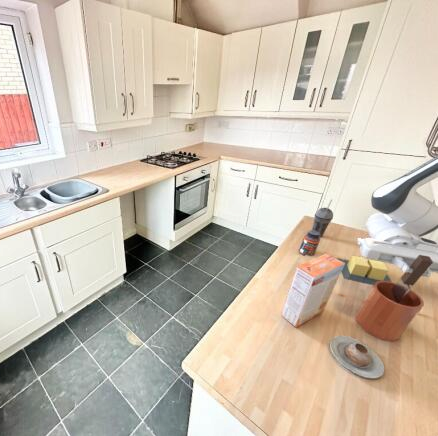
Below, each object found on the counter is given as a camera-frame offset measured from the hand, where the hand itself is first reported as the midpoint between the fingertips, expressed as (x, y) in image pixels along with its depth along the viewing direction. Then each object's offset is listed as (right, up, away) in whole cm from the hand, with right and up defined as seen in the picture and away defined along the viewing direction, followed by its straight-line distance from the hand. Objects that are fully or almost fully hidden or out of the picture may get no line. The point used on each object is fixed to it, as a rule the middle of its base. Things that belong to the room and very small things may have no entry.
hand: (417, 272), depth 63 cm
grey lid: (-13, -25, +4) cm, 28 cm away
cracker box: (-20, -18, +17) cm, 32 cm away
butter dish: (+15, -8, +33) cm, 37 cm away
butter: (+15, -8, +33) cm, 37 cm away
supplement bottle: (+1, -2, +46) cm, 46 cm away
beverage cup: (+14, +5, +58) cm, 60 cm away
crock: (+1, -20, +13) cm, 23 cm away
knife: (+1, -9, +7) cm, 11 cm away
